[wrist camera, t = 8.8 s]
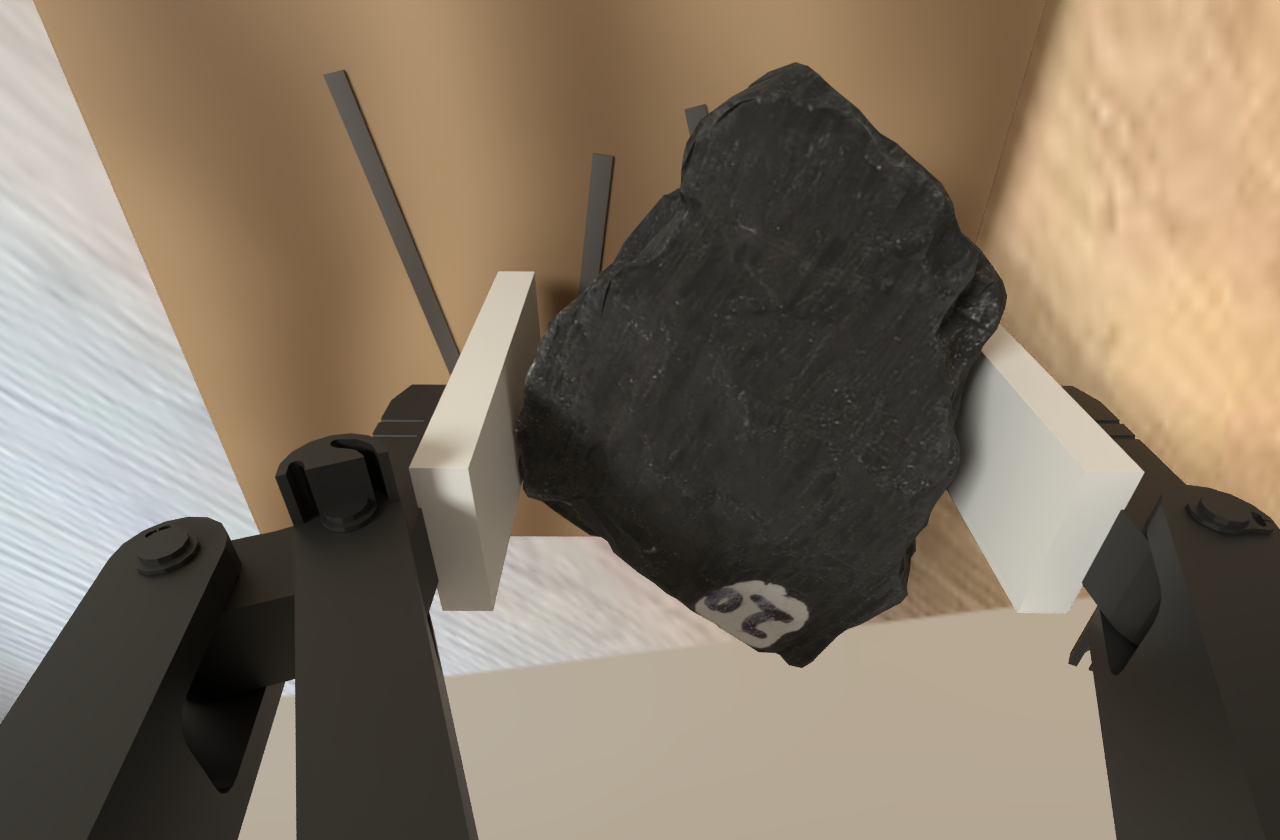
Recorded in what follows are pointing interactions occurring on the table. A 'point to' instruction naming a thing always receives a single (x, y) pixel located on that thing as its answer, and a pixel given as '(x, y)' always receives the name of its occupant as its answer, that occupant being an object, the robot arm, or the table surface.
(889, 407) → the rock
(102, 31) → the board
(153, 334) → the table surface
